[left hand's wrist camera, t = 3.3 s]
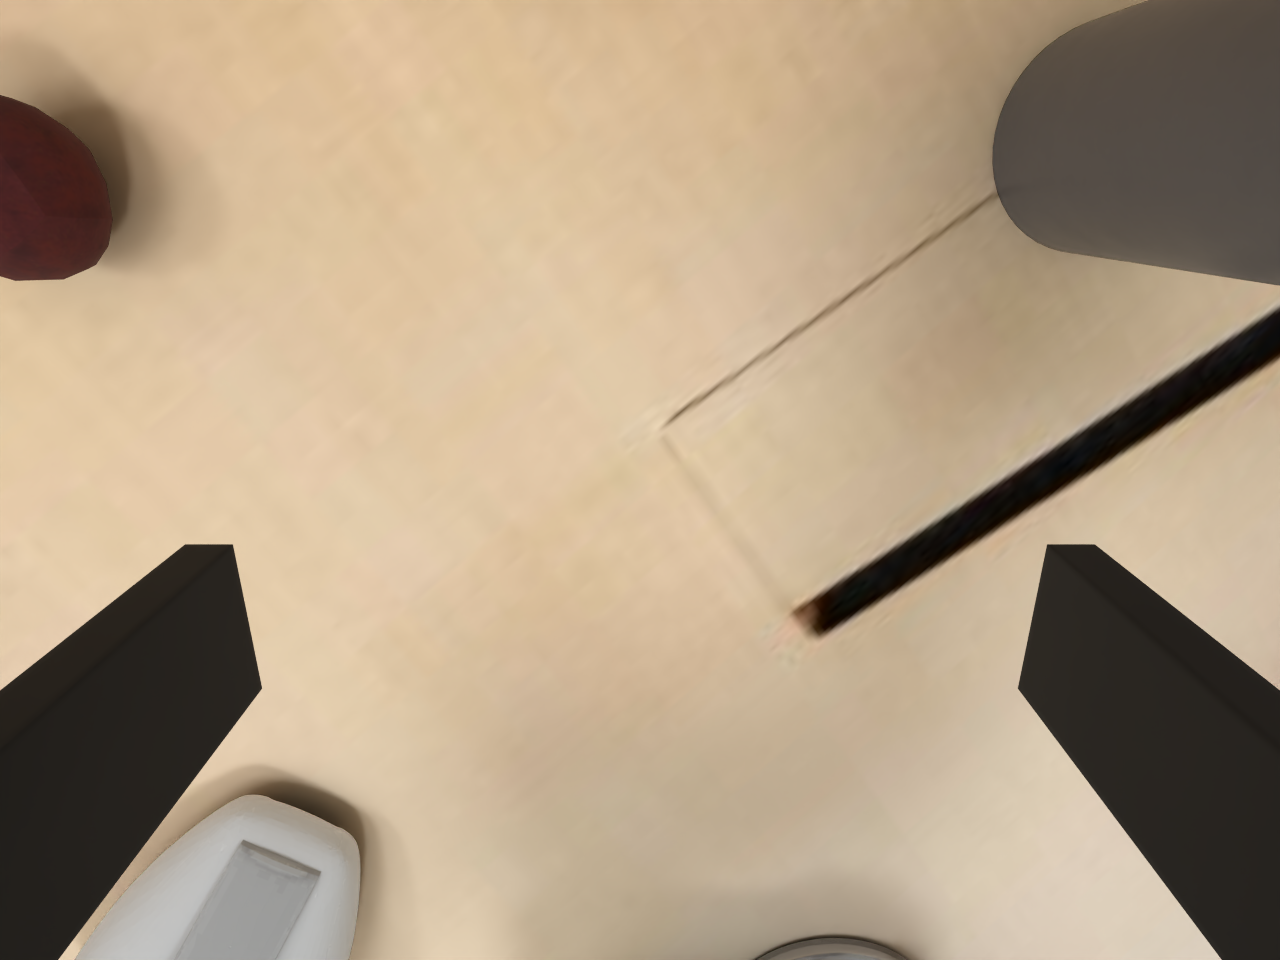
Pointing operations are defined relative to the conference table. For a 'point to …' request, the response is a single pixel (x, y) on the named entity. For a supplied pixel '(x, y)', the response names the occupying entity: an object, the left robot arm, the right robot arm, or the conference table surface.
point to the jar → (1152, 139)
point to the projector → (240, 892)
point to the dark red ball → (48, 198)
